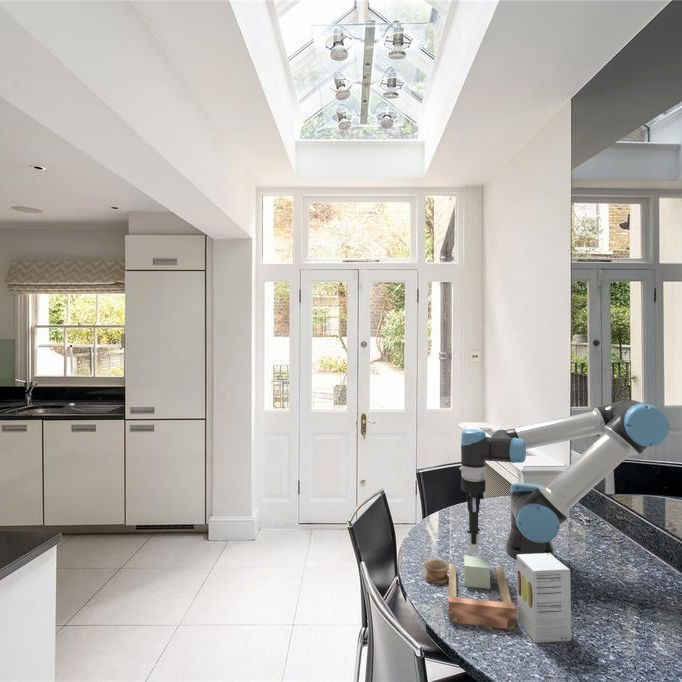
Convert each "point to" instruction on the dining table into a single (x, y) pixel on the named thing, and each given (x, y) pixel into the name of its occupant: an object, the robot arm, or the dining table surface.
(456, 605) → the track
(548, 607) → the supplement box
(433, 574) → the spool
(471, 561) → the pale green block
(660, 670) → the dining table surface
